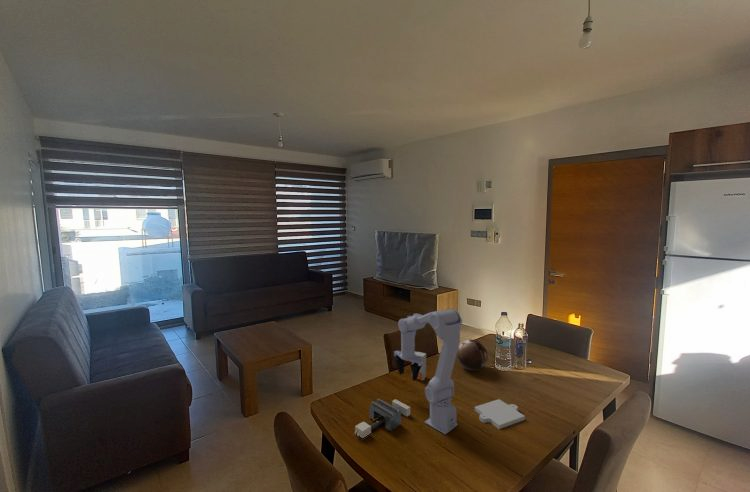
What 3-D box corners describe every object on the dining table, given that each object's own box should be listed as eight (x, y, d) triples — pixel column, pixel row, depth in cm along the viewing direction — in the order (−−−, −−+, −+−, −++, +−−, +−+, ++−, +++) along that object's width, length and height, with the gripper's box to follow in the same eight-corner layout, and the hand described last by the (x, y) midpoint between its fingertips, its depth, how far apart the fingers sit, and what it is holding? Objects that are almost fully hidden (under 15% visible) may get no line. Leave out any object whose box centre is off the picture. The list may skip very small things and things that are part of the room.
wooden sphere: (451, 365, 173) (451, 337, 172) (475, 360, 177) (476, 333, 176) (467, 378, 159) (467, 347, 157) (493, 373, 163) (494, 343, 162)
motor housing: (401, 424, 124) (400, 408, 123) (389, 431, 120) (389, 415, 119) (380, 412, 132) (380, 397, 131) (369, 418, 128) (369, 403, 127)
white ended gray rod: (410, 414, 130) (410, 407, 130) (363, 443, 113) (363, 435, 113) (395, 406, 136) (395, 399, 135) (349, 432, 119) (349, 425, 119)
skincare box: (411, 378, 159) (411, 354, 158) (414, 374, 163) (414, 350, 162) (423, 381, 157) (423, 356, 155) (426, 377, 160) (426, 353, 159)
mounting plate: (493, 432, 120) (493, 427, 120) (469, 413, 131) (469, 408, 131) (529, 418, 127) (529, 414, 127) (503, 401, 139) (503, 397, 139)
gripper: (427, 347, 138) (427, 379, 139) (401, 338, 148) (401, 368, 150) (416, 352, 133) (416, 385, 134) (390, 343, 144) (391, 373, 145)
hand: (408, 376), depth 142 cm, fingers open, 7 cm apart
